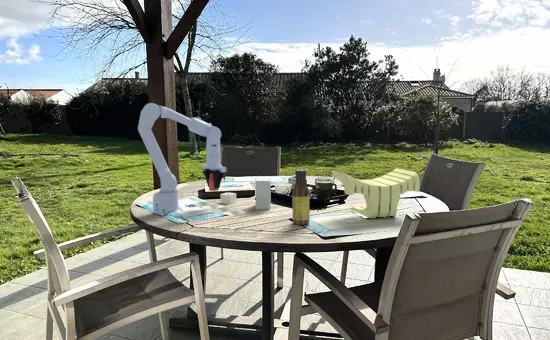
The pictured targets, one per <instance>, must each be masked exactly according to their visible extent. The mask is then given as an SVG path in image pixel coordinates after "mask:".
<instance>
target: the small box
mask: <svg viewBox="0 0 550 340" xmlns="http://www.w3.org/2000/svg"><path fill="white" fill-rule="evenodd" d="M271 185H272V183H271V178H270V177H256V178H255V210H271V208H272V207H271V205H272V204H271V203H272V199H271V196H272V193H271V190H272V189H271V187H272V186H271Z"/></svg>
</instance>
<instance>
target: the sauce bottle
mask: <svg viewBox="0 0 550 340" xmlns="http://www.w3.org/2000/svg"><path fill="white" fill-rule="evenodd" d="M294 172H295V183H294V185H293V187H292V222H293V224H294V225H297V226H306V224H307V225H309V223H310V219H311V218H310V206H311V205H310V190H309V186H308V183H307V170H306V169H295V170H294Z"/></svg>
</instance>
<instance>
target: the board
mask: <svg viewBox="0 0 550 340" xmlns="http://www.w3.org/2000/svg"><path fill="white" fill-rule="evenodd" d="M188 206H192V207H191V208H193V207H200V208H202V209H205V210H209V211H213V212H216V213H220V214H223V215H226V216H229V217H234V216H238V215H242V214H247V213H248V212H247V211H245V210H241V209H237V208H233V207H229V206H225V205H222V204H219V203H214V202H211V201H201V202H196V203H192V204H191V203H190V204H189V205H188Z"/></svg>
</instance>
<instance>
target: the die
mask: <svg viewBox="0 0 550 340" xmlns="http://www.w3.org/2000/svg"><path fill="white" fill-rule="evenodd" d="M235 203H237V193H235V192H224V193H220V204H226V205H231V204H235Z"/></svg>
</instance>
